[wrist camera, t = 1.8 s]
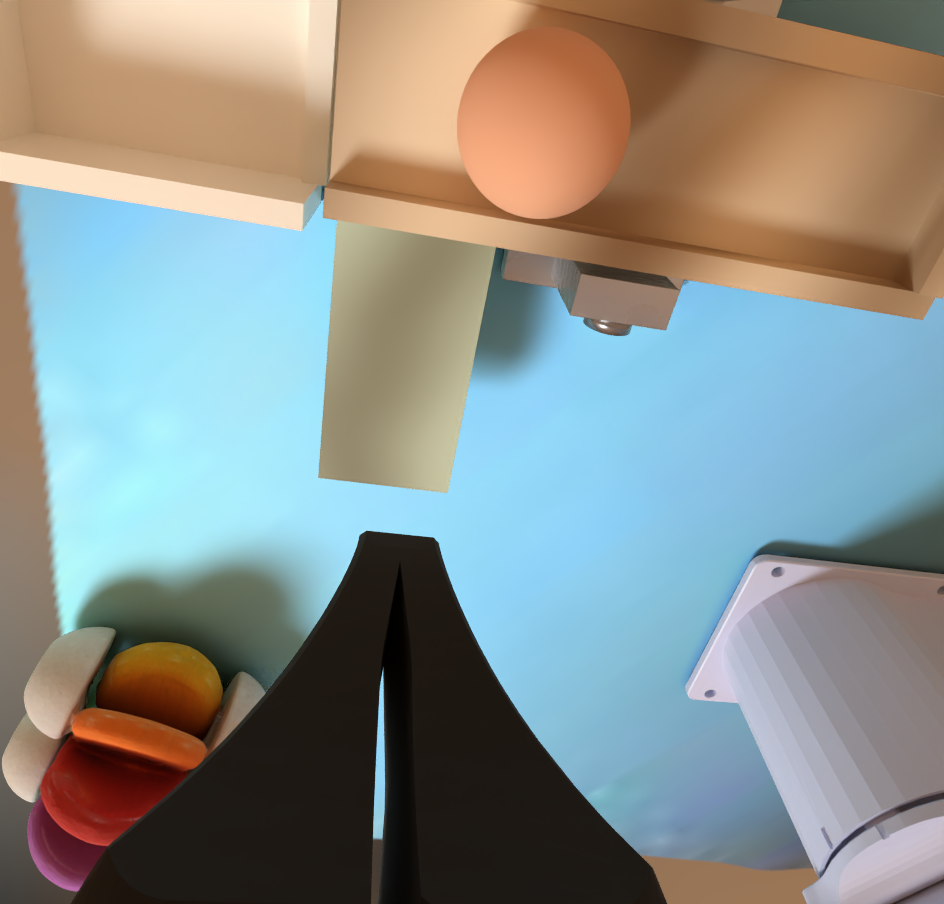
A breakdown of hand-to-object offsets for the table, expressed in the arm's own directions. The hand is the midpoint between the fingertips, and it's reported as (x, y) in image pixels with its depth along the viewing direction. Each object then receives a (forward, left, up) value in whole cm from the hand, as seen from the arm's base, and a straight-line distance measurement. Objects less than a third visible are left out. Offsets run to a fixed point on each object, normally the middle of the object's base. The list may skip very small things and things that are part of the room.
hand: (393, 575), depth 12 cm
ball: (-2, -7, -4) cm, 9 cm away
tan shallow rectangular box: (+6, -7, -10) cm, 14 cm away
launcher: (-5, -4, -8) cm, 10 cm away
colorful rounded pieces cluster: (+8, +17, -10) cm, 21 cm away
